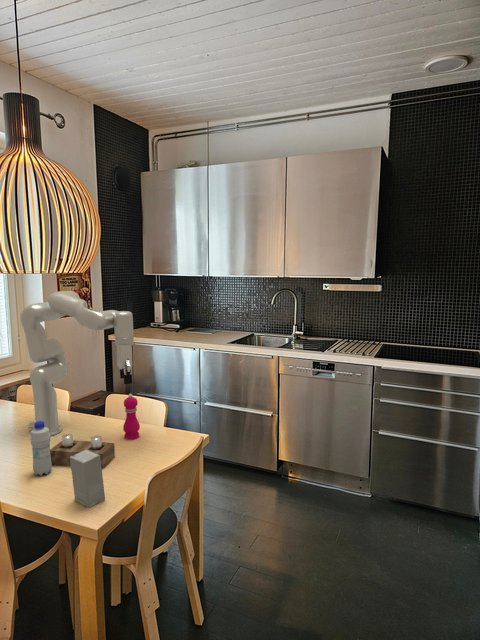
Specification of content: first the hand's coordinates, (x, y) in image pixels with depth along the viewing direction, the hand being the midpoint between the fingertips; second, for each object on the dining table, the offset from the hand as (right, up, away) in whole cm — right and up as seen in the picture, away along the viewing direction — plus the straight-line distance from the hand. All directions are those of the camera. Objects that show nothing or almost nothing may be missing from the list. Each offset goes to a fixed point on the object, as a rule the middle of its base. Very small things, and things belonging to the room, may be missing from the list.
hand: (126, 380), depth 177 cm
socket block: (-14, -30, -11) cm, 35 cm away
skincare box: (-2, -34, -39) cm, 52 cm away
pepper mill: (-1, -27, +12) cm, 30 cm away
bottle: (-25, -32, -21) cm, 45 cm away
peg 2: (-8, -26, -13) cm, 30 cm away
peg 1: (-20, -26, -11) cm, 35 cm away
